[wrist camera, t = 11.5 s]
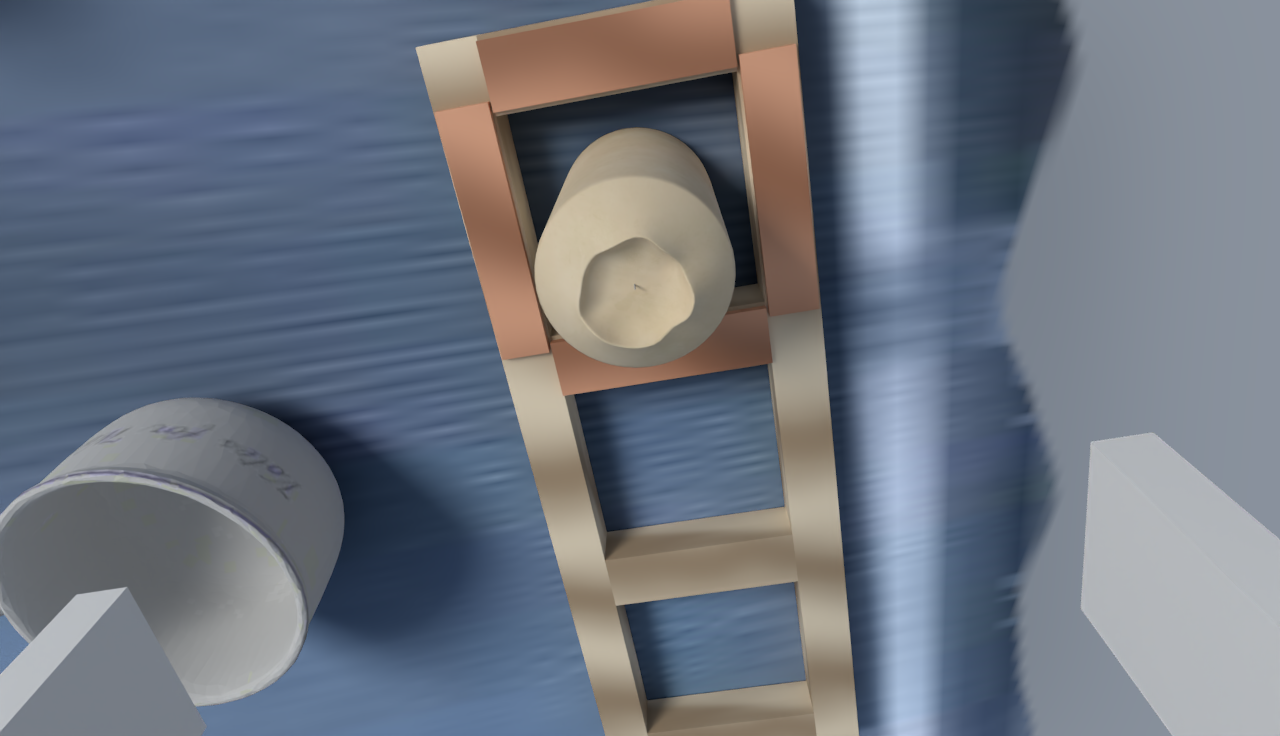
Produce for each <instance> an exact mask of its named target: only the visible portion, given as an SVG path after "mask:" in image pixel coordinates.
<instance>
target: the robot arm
mask: <svg viewBox="0 0 1280 736" xmlns="http://www.w3.org/2000/svg"><path fill="white" fill-rule="evenodd" d="M1081 610H1082V611H1083V613H1084V614H1085V615H1086V617H1087V618H1088V619H1089V621H1090V622H1091V624H1092V625H1093V626H1094V628H1095V629H1096V631H1097V632H1098V633H1099V635H1100V636H1101V637H1102V639H1103V640H1104V642H1105V643H1106V644H1107V646H1108V647H1109V649H1110V650H1111V651H1112V653H1113V654H1114V656H1116V658H1117V660H1118V661H1119V662H1120V664H1121V665H1122V667H1123V668H1124V669H1125V671H1126V672H1127V674H1128V675H1129V676H1130V678H1131V679H1132V681H1133V682H1134V683H1135V685H1136V686H1137V687H1138V689H1139V690H1140V692H1141V693H1142V694H1143V696H1144V697H1145V699H1146V700H1147V701H1148V703H1149V704H1150V705H1151V707H1152V708H1153V710H1154V711H1155V712H1156V714H1157V715H1158V717H1159V718H1160V719H1161V721H1162V722H1163V724H1164V725H1165V726H1166V728H1167V729H1168V730H1169V732H1170V733H1171V735H1172V736H1280V539H1279V538H1277V537H1276V536H1275V535H1274V534H1273V533H1272V532H1270V531H1269V530H1268V529H1267V528H1266V527H1264V526H1263V525H1262V524H1261V523H1260V522H1259V521H1257V520H1256V519H1255V518H1254V517H1253V516H1251V515H1250V514H1249V513H1248V512H1247V511H1245V510H1244V509H1243V508H1242V507H1241V506H1240V505H1238V504H1237V503H1236V502H1235V501H1234V500H1233V499H1231V498H1230V497H1229V496H1228V495H1226V494H1225V493H1224V492H1223V491H1222V490H1221V489H1219V488H1218V487H1217V486H1216V485H1215V484H1214V483H1212V482H1211V481H1210V480H1209V479H1208V478H1206V477H1205V476H1204V475H1203V474H1202V473H1200V472H1199V471H1198V470H1197V469H1196V468H1195V467H1193V466H1192V465H1191V464H1190V463H1189V462H1187V461H1186V460H1185V459H1184V458H1183V457H1182V456H1180V455H1179V454H1178V453H1177V452H1176V451H1175V450H1173V449H1172V448H1171V447H1170V446H1169V445H1167V444H1166V443H1165V442H1164V441H1163V440H1162V439H1160V438H1159V437H1158V436H1157V435H1156V434H1154V433H1146V434H1140V435H1133V436H1126V437H1119V438H1113V439H1106V440H1099V441H1094V442H1091V449H1090V465H1089V481H1088V498H1087V516H1086V531H1085V546H1084V563H1083V579H1082V595H1081ZM206 727H207V726H206V725H205V723H204V721H203V719H202V718H201V716H200V714H199V712H198V711H197V709H196V707H195V705H194V704H193V702H192V700H191V698H190V697H189V695H188V693H187V691H186V689H185V688H184V686H183V684H182V682H181V681H180V679H179V677H178V675H177V674H176V672H175V670H174V668H173V667H172V665H171V663H170V661H169V660H168V658H167V656H166V654H165V653H164V651H163V649H162V647H161V645H160V644H159V642H158V640H157V638H156V637H155V635H154V633H153V631H152V630H151V628H150V626H149V624H148V623H147V621H146V619H145V617H144V616H143V614H142V612H141V610H140V608H139V607H138V605H137V603H136V601H135V600H134V598H133V596H132V594H131V593H130V591H129V589H128V587H124V588H117V589H110V590H104V591H97V592H91V593H84V594H77V595H76V596H75V597H74V598H73V599H72V600H71V601H70V602H69V603H68V604H67V605H66V606H65V607H64V608H63V609H62V610H61V611H60V612H59V613H58V615H57V616H56V617H55V618H54V619H53V620H52V621H51V622H50V623H49V624H48V625H47V626H46V627H45V628H44V629H43V630H42V631H41V632H40V633H39V634H38V636H37V637H36V638H35V639H34V640H33V641H32V642H31V643H30V644H29V645H28V646H27V647H26V648H25V649H24V650H23V651H22V652H21V653H20V654H19V655H18V657H17V658H16V659H15V660H14V661H13V662H12V663H11V664H10V665H9V666H8V667H7V668H6V669H5V670H4V671H3V672H2V673H1V674H0V736H201V735H202V734H203V732H204V730H205V729H206Z"/></svg>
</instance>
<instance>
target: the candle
mask: <svg viewBox="0 0 1280 736" xmlns="http://www.w3.org/2000/svg"><path fill="white" fill-rule="evenodd" d="M735 276H736V273H735V259H734V253H733V249H732V246H731V242H730V239H729V236H728V233H727V230H726V227H725V224H724V221H723V218H722V215H721V212H720V209H719V206H718V203H717V200H716V197H715V193H714V190H713V187H712V184H711V181H710V179H709V176H708V174H707V172H706V170H705V168H704V166H703V164H702V163H701V161H700V160H699V158H698V157H697V156H696V154H695V153H694V152H693V151H692V150H691V149H690V148H689V147H688V146H687V145H686V144H684V143H683V142H682V141H680V140H679V139H677V138H676V137H674V136H672V135H669V134H667V133H665V132H662V131H659V130H655V129H650V128H639V127H635V128H625V129H621V130H616V131H614V132H611V133H608V134H606V135H604V136H602V137H600V138H599V139H597V140H596V141H594V142H593V143H592V144H590V145H589V146H588V147H587V148H586V149H585V150H584V151H583V152H582V153H581V154H580V155H579V157H578V158H577V159H576V161H575V163H574V164H573V166H572V168H571V169H570V171H569V173H568V175H567V178H566V180H565V182H564V185H563V187H562V189H561V192H560V194H559V196H558V199H557V201H556V203H555V206H554V208H553V210H552V213H551V215H550V217H549V220H548V222H547V224H546V227H545V229H544V231H543V234H542V236H541V238H540V241H539V245H538V248H537V252H536V258H535V284H536V291H537V294H538V298H539V301H540V304H541V306H542V309H543V311H544V313H545V315H546V317H547V318H548V320H549V322H550V323H551V325H552V326H553V327H554V329H555V330H556V331H557V332H558V334H559V335H560V336H561V337H562V338H563V339H564V340H565V341H566V342H567V343H569V344H570V345H571V346H573V347H574V348H575V349H577V350H578V351H580V352H581V353H583V354H585V355H587V356H588V357H591V358H593V359H595V360H598V361H600V362H603V363H607V364H610V365H615V366H621V367H632V368H640V367H651V366H656V365H661V364H665V363H668V362H671V361H674V360H676V359H678V358H680V357H682V356H685V355H686V354H688V353H689V352H691V351H693V350H694V349H696V348H697V347H698V346H699V345H701V344H702V343H703V342H704V341H705V340H706V339H707V338H708V337H709V336H710V335H711V334H712V333H713V332H714V331H715V329H716V328H717V327H718V325H719V324H720V323H721V321H722V319H723V317H724V316H725V314H726V312H727V310H728V307H729V305H730V302H731V299H732V295H733V291H734V286H735Z"/></svg>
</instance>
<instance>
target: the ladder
mask: <svg viewBox="0 0 1280 736" xmlns="http://www.w3.org/2000/svg"><path fill="white" fill-rule="evenodd" d="M416 51H417V55H418V58H419V62H420V66H421V69H422V73H423V76H424V80H425V84H426V87H427V91H428V94H429V98H430V102H431V105H432V109H433V113H434V116H435V120H436V123H437V127H438V131H439V134H440V138H441V142H442V145H443V149H444V152H445V156H446V160H447V163H448V167H449V171H450V174H451V178H452V181H453V185H454V189H455V192H456V196H457V199H458V203H459V207H460V210H461V214H462V218H463V221H464V225H465V228H466V232H467V236H468V239H469V243H470V247H471V250H472V254H473V257H474V261H475V265H476V268H477V272H478V276H479V279H480V283H481V286H482V290H483V294H484V297H485V301H486V304H487V308H488V312H489V315H490V319H491V323H492V326H493V330H494V333H495V337H496V341H497V344H498V348H499V352H500V355H501V359H502V362H503V366H504V370H505V373H506V377H507V381H508V384H509V388H510V391H511V395H512V399H513V402H514V406H515V409H516V413H517V417H518V420H519V424H520V428H521V431H522V435H523V438H524V442H525V446H526V449H527V453H528V457H529V460H530V464H531V467H532V471H533V475H534V478H535V482H536V486H537V489H538V493H539V496H540V500H541V504H542V507H543V511H544V514H545V518H546V522H547V525H548V529H549V533H550V536H551V540H552V543H553V547H554V551H555V554H556V558H557V562H558V565H559V569H560V572H561V576H562V580H563V583H564V587H565V591H566V594H567V598H568V601H569V605H570V609H571V612H572V616H573V619H574V623H575V627H576V630H577V634H578V638H579V641H580V645H581V648H582V652H583V656H584V659H585V663H586V667H587V670H588V674H589V677H590V681H591V685H592V688H593V692H594V696H595V699H596V703H597V706H598V710H599V714H600V717H601V721H602V724H603V728H604V732H605V735H606V736H859V731H858V719H857V708H856V697H855V685H854V674H853V663H852V651H851V640H850V629H849V617H848V606H847V595H846V583H845V572H844V561H843V549H842V538H841V527H840V515H839V504H838V493H837V481H836V470H835V459H834V447H833V436H832V425H831V413H830V402H829V391H828V379H827V368H826V357H825V345H824V334H823V323H822V311H821V300H820V289H819V277H818V266H817V255H816V243H815V232H814V221H813V209H812V198H811V187H810V175H809V164H808V153H807V141H806V130H805V119H804V108H803V96H802V85H801V74H800V62H799V51H798V40H797V28H796V17H795V6H794V0H653V1H648V2H643V3H638V4H633V5H628V6H622V7H617V8H612V9H607V10H602V11H597V12H592V13H587V14H582V15H577V16H571V17H566V18H561V19H556V20H551V21H546V22H541V23H536V24H531V25H526V26H521V27H515V28H510V29H505V30H500V31H495V32H490V33H485V34H480V35H475V36H470V37H464V38H459V39H454V40H449V41H444V42H439V43H434V44H429V45H425V46H420V47H416ZM730 72H732V78H733V86H734V94H735V102H736V110H737V119H738V127H739V135H740V143H741V151H742V159H743V168H744V176H745V184H746V192H747V200H748V208H749V217H750V225H751V233H752V241H753V249H754V257H755V266H756V274H757V282H758V284H752V285H746V286H740V287H734V291H733V295H732V299H731V302H730V305H729V307H728V310H727V312H726V314H725V316H724V317H723V319H722V321H721V323H720V324H719V325H718V327H717V328H716V329H715V331H714V332H713V333H712V334H711V335H710V336H709V337H708V338H707V339H706V340H705V341H704V342H703V343H702V344H701V345H699V346H698V347H697V348H696V349H694V350H693V351H691V352H689V353H688V354H686V355H685V356H682V357H680V358H678V359H676V360H674V361H671V362H668V363H665V364H661V365H656V366H651V367H640V368H632V367H621V366H615V365H610V364H607V363H603V362H600V361H598V360H595V359H593V358H591V357H588V356H587V355H585V354H583V353H581V352H580V351H578V350H577V349H575V348H574V347H573V346H571V345H570V344H569V343H567V342H566V341H565V340H564V339H563V338H562V337H561V336H560V335H559V334H558V332H557V331H556V330H555V329H554V327H553V326H552V325H551V323H550V322H549V320H548V318H547V317H546V315H545V313H544V311H543V309H542V306H541V304H540V301H539V298H538V294H537V291H536V284H535V258H536V252H537V248H538V242H537V238H536V233H535V229H534V225H533V221H532V217H531V212H530V208H529V204H528V200H527V196H526V192H525V187H524V183H523V179H522V175H521V171H520V166H519V162H518V158H517V154H516V150H515V146H514V141H513V137H512V133H511V129H510V125H509V120H508V116H507V114H512V113H517V112H522V111H528V110H533V109H538V108H544V107H549V106H554V105H560V104H565V103H570V102H576V101H581V100H586V99H592V98H597V97H602V96H608V95H613V94H618V93H624V92H629V91H634V90H640V89H645V88H650V87H656V86H661V85H666V84H672V83H677V82H682V81H688V80H693V79H698V78H704V77H709V76H714V75H720V74H725V73H730ZM764 364H768V372H769V380H770V388H771V396H772V405H773V413H774V421H775V429H776V437H777V445H778V454H779V462H780V470H781V478H782V486H783V494H784V503H785V507H779V508H772V509H765V510H758V511H751V512H744V513H737V514H730V515H723V516H716V517H709V518H702V519H695V520H688V521H681V522H674V523H667V524H660V525H653V526H646V527H639V528H632V529H625V530H618V531H611V532H607V530H606V526H605V522H604V518H603V514H602V509H601V505H600V501H599V497H598V493H597V488H596V484H595V480H594V476H593V472H592V468H591V463H590V459H589V455H588V451H587V447H586V442H585V438H584V434H583V430H582V426H581V422H580V417H579V413H578V409H577V405H576V401H575V396H574V394H579V393H586V392H592V391H598V390H605V389H611V388H618V387H624V386H630V385H637V384H643V383H649V382H656V381H662V380H668V379H675V378H681V377H688V376H694V375H700V374H707V373H713V372H719V371H726V370H732V369H738V368H745V367H751V366H757V365H764ZM789 582H794V584H795V593H796V601H797V609H798V617H799V625H800V633H801V642H802V650H803V658H804V666H805V674H806V681H799V682H791V683H783V684H775V685H767V686H759V687H751V688H743V689H735V690H727V691H719V692H711V693H703V694H695V695H687V696H679V697H671V698H663V699H655V700H647V698H646V693H645V689H644V685H643V681H642V677H641V673H640V668H639V664H638V660H637V656H636V652H635V647H634V643H633V639H632V635H631V631H630V627H629V622H628V618H627V614H626V610H625V606H624V605H625V604H633V603H640V602H648V601H655V600H663V599H670V598H677V597H685V596H692V595H700V594H707V593H714V592H722V591H729V590H737V589H744V588H752V587H759V586H766V585H774V584H781V583H789Z"/></svg>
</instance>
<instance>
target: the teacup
mask: <svg viewBox="0 0 1280 736" xmlns="http://www.w3.org/2000/svg"><path fill="white" fill-rule="evenodd" d="M343 534H344V507H343V500H342V496H341V493H340V489H339V486H338V484H337V481H336V479H335V477H334V475H333V473H332V471H331V469H330V467H329V466H328V464H327V463H326V462H325V460H324V459H323V457H322V456H321V455H320V454H319V453H318V451H317V450H316V449H315V448H314V447H313V446H312V444H310V443H309V442H308V441H307V440H306V439H305V438H304V437H303V436H302V435H300V434H299V433H298V432H297V431H295V430H294V429H293V428H291V427H290V426H288V425H287V424H285V423H284V422H282V421H280V420H279V419H277V418H275V417H273V416H271V415H269V414H267V413H265V412H263V411H260V410H258V409H255V408H252V407H249V406H246V405H243V404H239V403H235V402H232V401H226V400H221V399H213V398H179V399H173V400H166V401H161V402H157V403H153V404H150V405H147V406H144V407H142V408H139V409H137V410H134V411H132V412H130V413H128V414H126V415H124V416H122V417H120V418H119V419H117V420H115V421H114V422H112V423H111V424H109V425H108V426H106V427H105V428H104V429H102V430H101V431H99V432H98V433H97V434H95V435H94V436H93V437H92V438H90V439H89V440H88V441H87V442H85V443H84V444H83V445H82V446H81V447H80V448H78V449H77V450H76V451H75V452H74V453H72V454H71V455H70V456H69V457H68V458H67V459H65V460H64V461H63V462H62V463H61V464H60V465H59V466H58V467H57V468H56V469H54V470H53V471H52V472H51V473H50V474H49V475H48V476H47V477H46V478H45V479H44V480H43V481H41V482H40V483H39V484H37V485H36V486H34V487H32V488H30V489H28V490H26V491H25V492H23V493H21V494H20V495H19V496H18V497H17V498H16V499H15V500H14V501H13V502H12V503H11V504H10V505H9V506H8V507H7V508H6V509H5V510H4V511H3V512H2V514H1V515H0V616H2V615H5V616H6V617H7V619H8V620H9V622H10V623H11V624H12V626H13V627H14V628H15V630H16V631H17V632H18V633H19V634H20V635H21V636H22V637H23V638H24V639H25V640H26V641H27V642H28V643H29V644H30V643H31V642H32V641H33V640H34V639H35V638H36V637H37V636H38V634H39V633H40V632H41V631H42V630H43V629H44V628H45V627H46V626H47V625H48V624H49V623H50V622H51V621H52V620H53V619H54V618H55V617H56V616H57V615H58V613H59V612H60V611H61V610H62V609H63V608H64V607H65V606H66V605H67V604H68V603H69V602H70V601H71V600H72V599H73V598H74V597H75V596H76V595H77V594H84V593H91V592H97V591H104V590H110V589H117V588H124V587H128V589H129V591H130V593H131V594H132V596H133V598H134V600H135V601H136V603H137V605H138V607H139V608H140V610H141V612H142V614H143V616H144V617H145V619H146V621H147V623H148V624H149V626H150V628H151V630H152V631H153V633H154V635H155V637H156V638H157V640H158V642H159V644H160V645H161V647H162V649H163V651H164V653H165V654H166V656H167V658H168V660H169V661H170V663H171V665H172V667H173V668H174V670H175V672H176V674H177V675H178V677H179V679H180V681H181V682H182V684H183V686H184V688H185V689H186V691H187V693H188V695H189V697H190V698H191V700H192V702H193V704H194V705H195V706H208V705H218V704H223V703H227V702H231V701H235V700H239V699H242V698H245V697H248V696H250V695H252V694H255V693H257V692H259V691H261V690H263V689H265V688H266V687H268V686H270V685H271V684H273V683H274V682H276V681H277V680H278V679H279V678H280V677H281V676H283V675H284V674H285V673H286V672H287V671H288V670H289V669H290V667H291V666H292V665H293V664H294V663H295V661H296V659H297V657H298V655H299V653H300V652H301V649H302V647H303V644H304V642H305V639H306V636H307V632H308V625H309V623H310V621H311V619H312V617H313V615H314V613H315V611H316V609H317V606H318V604H319V602H320V600H321V598H322V595H323V593H324V591H325V589H326V586H327V584H328V582H329V579H330V577H331V575H332V572H333V570H334V567H335V564H336V561H337V559H338V556H339V552H340V549H341V544H342V540H343Z"/></svg>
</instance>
